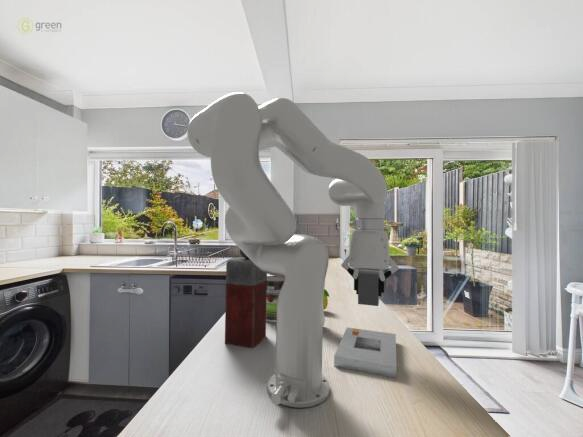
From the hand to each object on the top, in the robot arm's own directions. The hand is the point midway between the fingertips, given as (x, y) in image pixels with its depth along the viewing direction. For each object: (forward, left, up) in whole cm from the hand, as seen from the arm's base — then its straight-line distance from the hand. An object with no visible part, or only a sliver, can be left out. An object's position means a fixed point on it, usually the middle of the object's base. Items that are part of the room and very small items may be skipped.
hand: (368, 293), depth 75 cm
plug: (+2, 0, -2) cm, 3 cm away
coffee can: (+17, +34, -16) cm, 41 cm away
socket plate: (0, 0, -16) cm, 16 cm away
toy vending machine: (-3, +34, -16) cm, 38 cm away
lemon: (+30, +20, -16) cm, 39 cm away
